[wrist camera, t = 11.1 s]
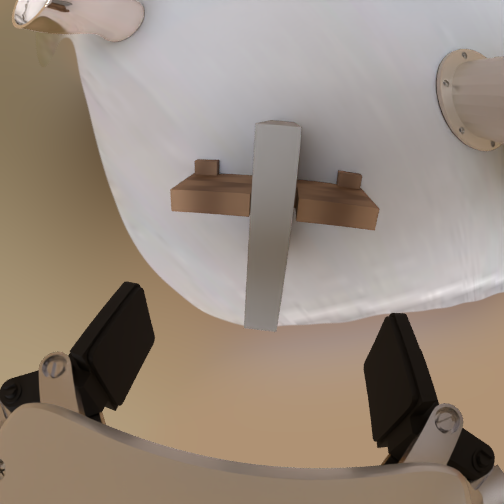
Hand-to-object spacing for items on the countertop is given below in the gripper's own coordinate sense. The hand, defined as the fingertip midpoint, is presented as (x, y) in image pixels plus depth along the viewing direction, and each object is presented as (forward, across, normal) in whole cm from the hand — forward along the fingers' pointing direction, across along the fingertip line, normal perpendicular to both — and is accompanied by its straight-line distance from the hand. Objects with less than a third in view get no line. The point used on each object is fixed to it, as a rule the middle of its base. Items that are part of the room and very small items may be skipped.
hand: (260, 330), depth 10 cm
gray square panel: (+21, 0, 0) cm, 21 cm away
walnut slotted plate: (+21, +1, 0) cm, 21 cm away
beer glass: (+22, +20, -21) cm, 36 cm away
